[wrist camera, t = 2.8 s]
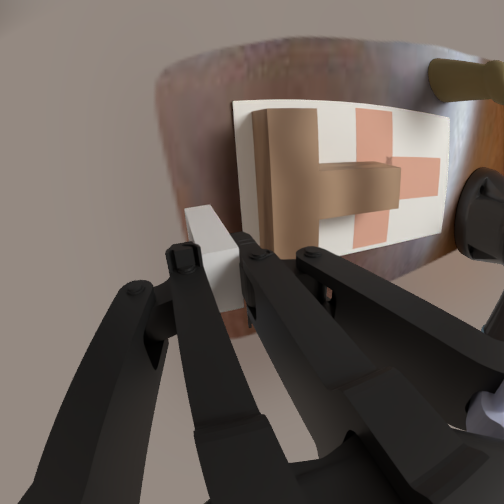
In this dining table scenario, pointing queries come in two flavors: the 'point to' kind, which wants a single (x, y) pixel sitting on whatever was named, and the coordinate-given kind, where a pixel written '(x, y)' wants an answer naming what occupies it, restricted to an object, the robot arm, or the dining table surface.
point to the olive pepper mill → (467, 80)
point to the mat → (361, 150)
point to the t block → (309, 181)
